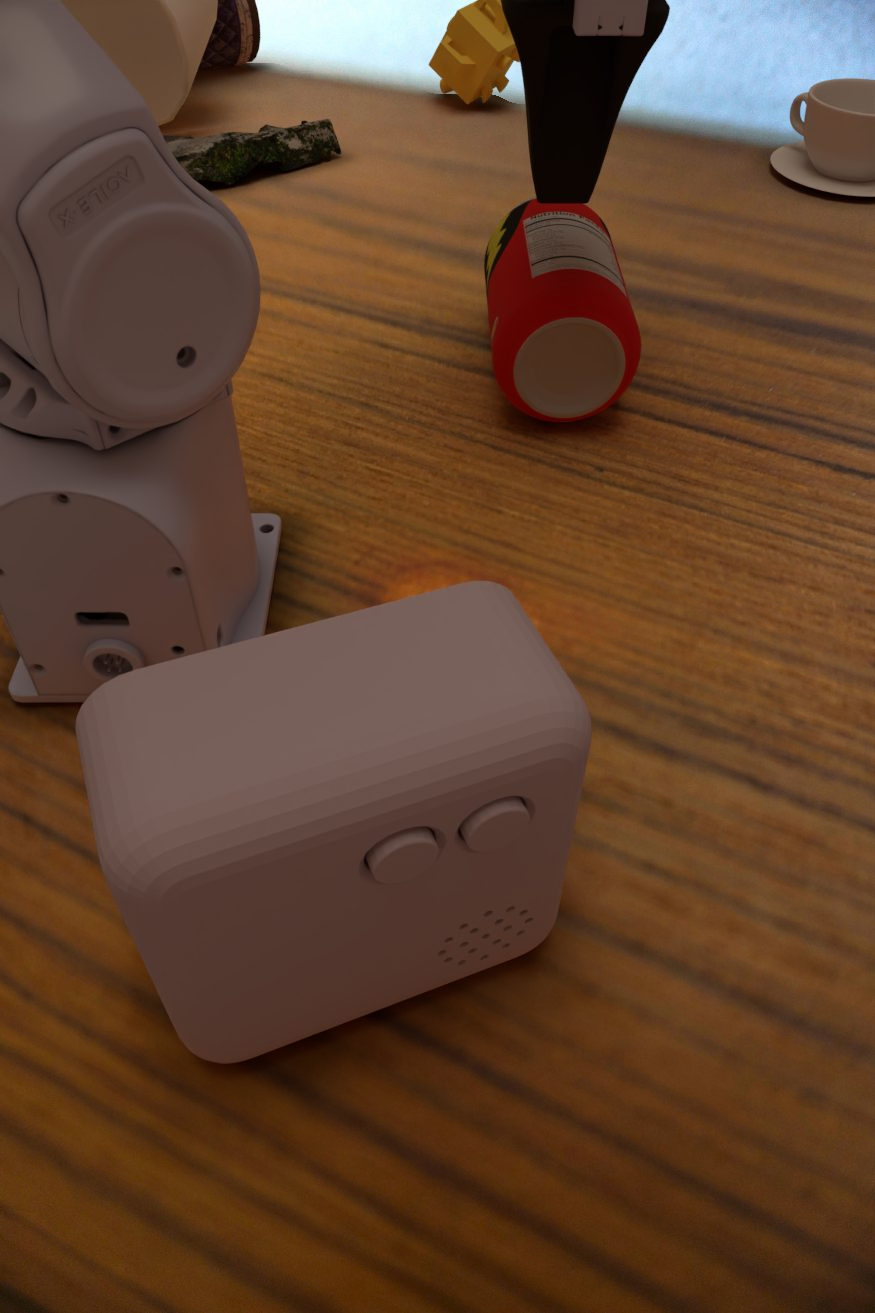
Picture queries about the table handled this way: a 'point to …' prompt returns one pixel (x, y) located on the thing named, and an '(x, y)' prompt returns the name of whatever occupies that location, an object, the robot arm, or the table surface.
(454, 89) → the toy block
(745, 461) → the table surface
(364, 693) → the electronic device
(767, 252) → the table surface
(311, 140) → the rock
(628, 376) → the beverage can
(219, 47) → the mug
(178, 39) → the cup
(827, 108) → the teacup
